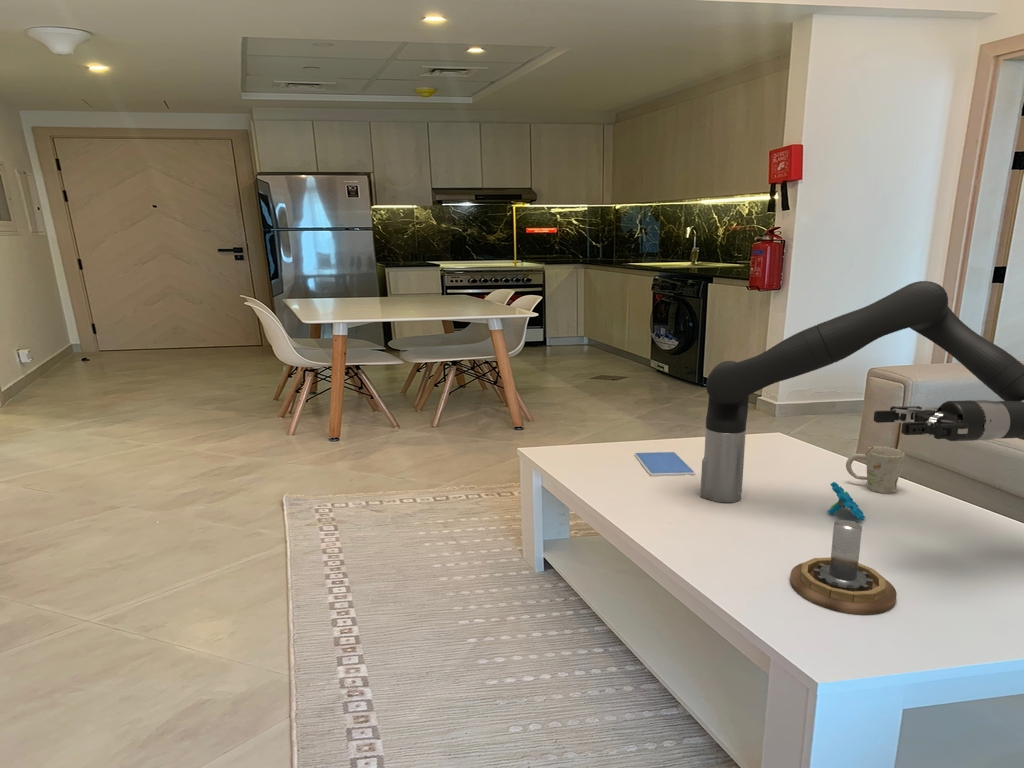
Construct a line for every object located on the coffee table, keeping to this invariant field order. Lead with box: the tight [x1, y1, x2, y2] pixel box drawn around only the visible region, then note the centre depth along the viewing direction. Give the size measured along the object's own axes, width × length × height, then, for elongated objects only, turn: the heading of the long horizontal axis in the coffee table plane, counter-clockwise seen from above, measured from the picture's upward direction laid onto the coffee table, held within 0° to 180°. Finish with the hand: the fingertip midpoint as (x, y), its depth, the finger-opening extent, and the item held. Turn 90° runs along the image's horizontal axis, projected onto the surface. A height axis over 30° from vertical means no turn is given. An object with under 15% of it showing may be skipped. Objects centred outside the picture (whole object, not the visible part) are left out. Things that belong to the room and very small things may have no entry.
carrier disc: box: [789, 557, 897, 616], centre depth 118 cm, size 17×17×3 cm
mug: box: [845, 446, 905, 494], centre depth 167 cm, size 8×13×10 cm, turn 58°
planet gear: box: [813, 519, 873, 592], centre depth 117 cm, size 9×9×11 cm
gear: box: [827, 481, 866, 521], centre depth 151 cm, size 11×6×10 cm
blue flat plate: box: [633, 451, 696, 477], centre depth 187 cm, size 19×13×1 cm, turn 3°
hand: (888, 422), depth 123 cm, fingers open, 8 cm apart
